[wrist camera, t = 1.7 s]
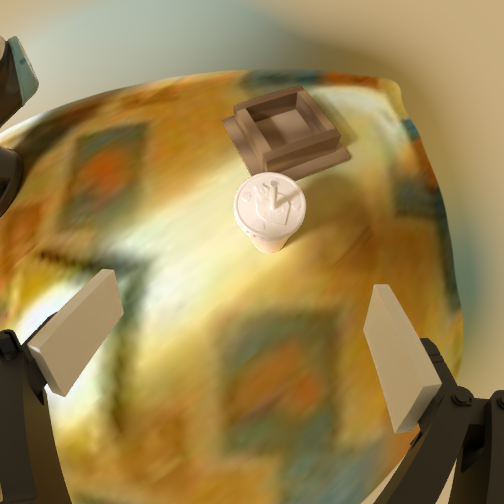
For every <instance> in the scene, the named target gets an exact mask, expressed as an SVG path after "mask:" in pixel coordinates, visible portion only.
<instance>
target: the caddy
mask: <svg viewBox="0 0 504 504" xmlns="http://www.w3.org/2000/svg"><path fill="white" fill-rule="evenodd" d="M233 107H234V114H235V115H234V116H231V117H229V118H226V119H223V120H222V122H223V125H224V127H225V128H226V130H227V132H228V134H229V136H230V137H231V139H232V141H233V143H234V145H235V147H236V148H237V150H238V152H239V154H240V156H241V158H242V160H243V161H244V163H245V165H246V167H247V169H248V171H249V173H250V174H251V176H254V175H257V174H260V173H266V172H273V173H279V174H283V175H285V176H287V177H289V178H291V179H292V180H294V181H296V180H299V179H301V178H304V177H306V176H309V175H311V174H314V173H317V172H319V171H322V170H324V169H327V168H330V167H332V166H335V165H338V164H340V163H343V162H346V161H348V160H349V159H350V156H349V155H348V153H347V152H346V150H345V149H344V147H343V146H342V145H341V143H340V142H339V139H340V136H341V135H340V133H339V132H338V131H337V129H336V128H335V127H334V125H333V124H332V123H331V121H330V120H329V119H328V118H327V116H326V115H325V114H324V112H323V111H322V110H321V109H320V107H319V106H318V105H317V104H316V102H315V101H314V100H313V99H312V98H311V96H310V95H309V94H308V93H307V92H306V90H305V89H304V88H303V87H302V86H301V85H298V86H295V87H291V88H287V89H284V90H280V91H277V92H273V93H270V94H267V95H264V96H260V97H257V98H254V99H251V100H248V101H245V102H242V103H239V104H236V105H233Z"/></svg>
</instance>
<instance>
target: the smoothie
mask: <svg viewBox="0 0 504 504" xmlns="http://www.w3.org/2000/svg"><path fill="white" fill-rule="evenodd" d="M305 212H306V199H305V196H304V193H303V191H302V189H301V188H300V186H299V185H298V184H297V183H296V182H295V181H294V180H292V179H291V178H289V177H287V176H285V175H283V174H279V173H273V172H266V173H260V174H257V175H254V176H252V177H250V178H248V179H247V180H246V181H245V182H243V183H242V184H241V186H240V187H239V188H238V190H237V192H236V194H235V198H234V215H235V218H236V221H237V223H238V225H239V226H240V227H241V229H242V230H243V231H244V232H245V233H246V234H248V235H249V236H250V238H251V239H252V241H253V243H254V244H255V246H256V247H257V249H258V250H260V251H261V252H263V253H268V254H271V253H275V252H277V251H279V250H280V249H281V248H282V247H283V245H284V244H285V242H286V241H287V239H288V238H289V236H291V235H292V234H293V233H295V232H296V231H297V230H298V229H299V227H300V226H301V225H302V223H303V220H304V217H305Z"/></svg>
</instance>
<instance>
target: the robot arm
mask: <svg viewBox="0 0 504 504" xmlns="http://www.w3.org/2000/svg"><path fill="white" fill-rule="evenodd" d="M38 85H39V83H38V79H37V77H36V74H35V72H34V70H33V68H32V66H31V64H30V62H29V59H28V57H27V55H26V53H25V51H24V49H23V47H22V45H21V43H20V41H19V39H18V38H17V37H16V36H14V37H12V38H10V39H8V41H7V42H6V41H5V40H4V38H3V37H1V36H0V128H1V126H2V125H3V124H4V123H5V122H6V121H8V120H9V119H10V118H11V117H12V115H14V114H15V113H16V112H17V111H18V110H19V109H20V108H21V107H23V106H24V105H25V103H26V102H27V101H28V100H29V99H30V98H31V97H32V96H33V95H34V94H35V93H36V91H37V89H38ZM22 173H23V160H22V158H21V156H20V155H18V154H17V153H16V152H15V151H14V150H12V149H6V148H4V147H1V146H0V216H1V215H2V214H3V213H4V212H5V210H6V209H7V208H8V206H9V205H10V203H11V202H12V200H13V198H14V196H15V194H16V192H17V189H18V187H19V184H20V181H21V178H22ZM123 314H124V312H123V308H122V304H121V300H120V295H119V291H118V286H117V282H116V277H115V272H114V270H108V269H102V270H101V271H100V272H99V273H98V274H97V275H96V276H94V277H93V278H92V279H91V280H90V281H89V282H88V283H87V284H86V285H85V286H84V287H83V288H82V289H81V290H80V291H79V292H78V293H76V294H75V295H74V296H73V297H72V298H71V299H70V300H69V301H68V302H67V303H66V304H65V305H64V306H63V307H62V308H61V309H60V310H59V311H58V312H56V313H54V314H53V315H51V316H49V317H48V318H47V319H46V320H45V321H44V322H43V323H42V325H40V326H39V327H38V328H37V330H35V331H34V332H33V333H32V335H31V336H30V337H29V338H28V339H27V340H26V341H25V342H24V343H23V344H22V345H20V342H19V340H18V338H17V336H16V334H15V332H14V331H13V330H10V329H7V330H3V331H0V482H1V489H2V494H3V501H2V502H0V504H72V502H71V500H70V497H69V494H68V490H67V487H66V484H65V481H64V477H63V474H62V470H61V467H60V463H59V459H58V455H57V450H56V446H55V441H54V437H53V432H52V426H51V421H50V415H49V408H48V401H47V394H46V391H45V389H44V387H45V385H46V384H48V385H49V387H50V389H51V391H52V392H53V393H56V394H58V395H61V396H63V397H65V396H66V395H67V393H68V392H69V390H70V389H71V387H72V386H73V384H74V383H75V381H76V380H77V378H78V377H79V375H80V374H81V372H82V371H83V370H84V368H85V367H86V365H87V364H88V362H89V361H90V359H91V358H92V357H93V355H94V354H95V352H96V351H97V349H98V348H99V347H100V345H101V344H102V342H103V341H104V340H105V338H106V337H107V336H108V334H109V333H110V331H111V330H112V329H113V327H114V326H115V325H116V323H117V322H118V321H119V319H120V318H121V317H122V315H123ZM363 331H364V334H365V337H366V340H367V343H368V346H369V349H370V352H371V355H372V358H373V361H374V364H375V367H376V371H377V374H378V377H379V380H380V384H381V387H382V390H383V394H384V397H385V401H386V404H387V408H388V411H389V415H390V419H391V422H392V426H393V430H394V434H396V433H403V432H409V431H412V430H413V429H414V427H415V426H416V424H417V423H419V426H420V429H421V430H420V432H419V433H418V434H417V436H416V437H415V438H414V440H413V441H412V442H411V443H410V445H411V447H410V449H409V450H408V452H407V454H406V456H405V457H404V459H403V461H402V462H401V464H400V465H399V467H398V469H397V470H396V472H395V473H394V475H393V476H392V478H391V479H390V481H389V482H388V484H387V485H386V487H385V488H384V490H383V491H382V493H381V494H380V495H379V497H378V498H377V499H376V501H375V502H374V503H373V504H435V503H436V502H437V500H438V498H439V496H440V494H441V492H442V490H443V488H444V486H445V483H446V481H447V479H448V477H449V475H450V472H451V470H452V468H453V466H454V463H455V461H456V459H457V462H456V467H455V473H454V479H453V484H452V489H451V493H450V498H449V502H448V504H504V390H498V391H496V392H494V393H493V395H492V396H491V398H490V399H480V398H474V396H473V394H472V393H471V392H470V391H469V390H468V389H466V388H464V387H461V386H457V384H456V382H455V380H454V378H453V376H452V374H451V372H450V370H449V369H448V367H447V365H446V363H445V362H444V359H443V357H442V356H441V355H440V352H439V350H438V348H437V347H436V345H435V344H434V343H433V342H431V341H430V340H429V339H428V338H420V339H419V337H418V335H417V333H416V332H415V330H414V328H413V326H412V324H411V323H410V321H409V319H408V317H407V315H406V314H405V312H404V310H403V308H402V307H401V305H400V303H399V302H398V300H397V298H396V296H395V295H394V293H393V291H392V290H391V288H390V286H389V285H386V284H374V287H373V292H372V296H371V300H370V305H369V309H368V313H367V317H366V321H365V324H364V328H363Z"/></svg>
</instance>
